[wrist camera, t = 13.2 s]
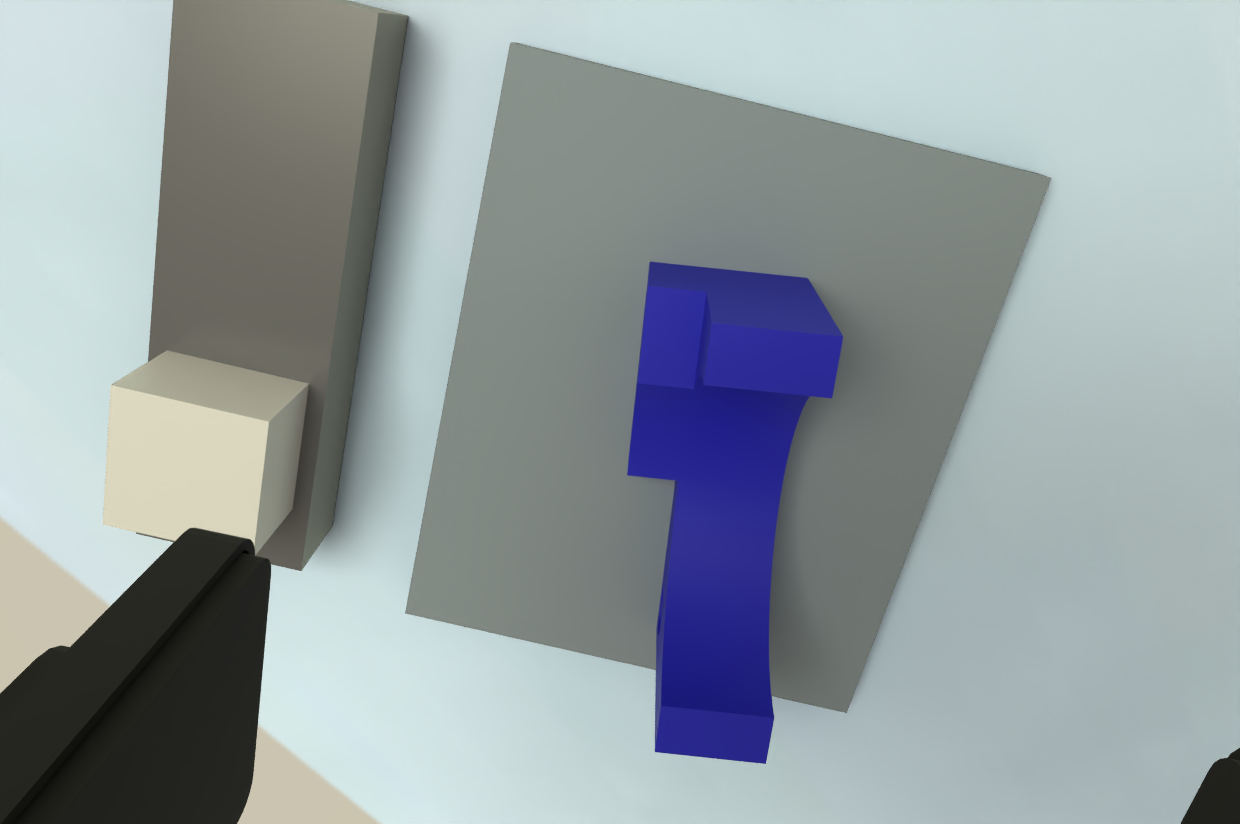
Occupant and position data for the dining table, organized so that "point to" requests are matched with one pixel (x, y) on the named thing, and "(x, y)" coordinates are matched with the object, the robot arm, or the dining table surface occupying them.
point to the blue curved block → (722, 485)
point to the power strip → (257, 272)
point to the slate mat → (611, 339)
